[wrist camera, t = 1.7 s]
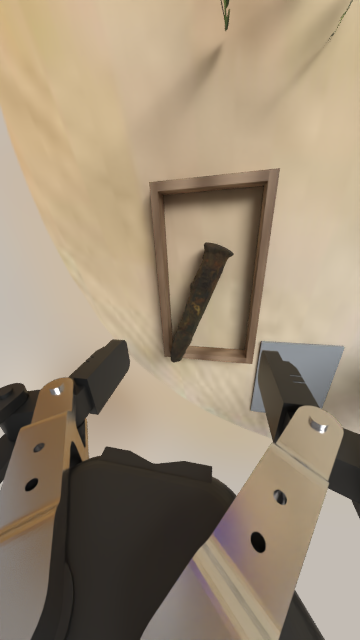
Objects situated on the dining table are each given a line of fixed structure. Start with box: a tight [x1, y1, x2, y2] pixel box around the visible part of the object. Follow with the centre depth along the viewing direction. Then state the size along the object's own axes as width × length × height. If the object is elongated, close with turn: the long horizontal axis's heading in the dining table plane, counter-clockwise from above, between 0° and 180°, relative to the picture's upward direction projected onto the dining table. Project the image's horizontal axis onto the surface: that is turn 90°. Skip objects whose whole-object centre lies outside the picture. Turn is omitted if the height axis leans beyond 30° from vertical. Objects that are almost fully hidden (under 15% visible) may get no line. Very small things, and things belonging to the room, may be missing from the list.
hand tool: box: [170, 243, 233, 362], centre depth 28 cm, size 19×4×5 cm, turn 159°
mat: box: [251, 341, 345, 413], centre depth 33 cm, size 12×16×1 cm
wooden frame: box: [149, 168, 280, 364], centre depth 28 cm, size 15×26×2 cm, turn 2°
